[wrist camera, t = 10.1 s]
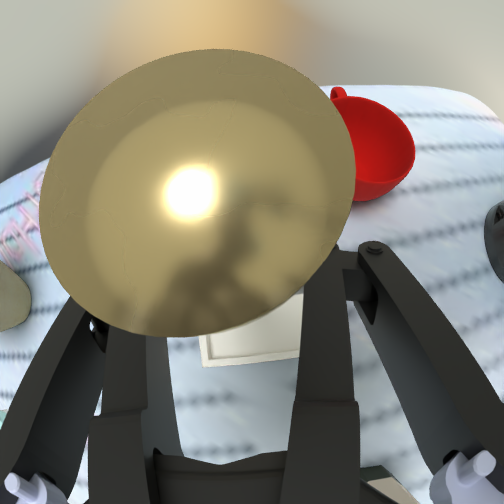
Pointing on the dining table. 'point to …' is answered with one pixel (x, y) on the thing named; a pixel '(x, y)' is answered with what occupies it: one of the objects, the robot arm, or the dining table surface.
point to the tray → (257, 339)
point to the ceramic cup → (375, 144)
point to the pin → (196, 193)
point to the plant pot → (12, 298)
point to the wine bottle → (387, 484)
